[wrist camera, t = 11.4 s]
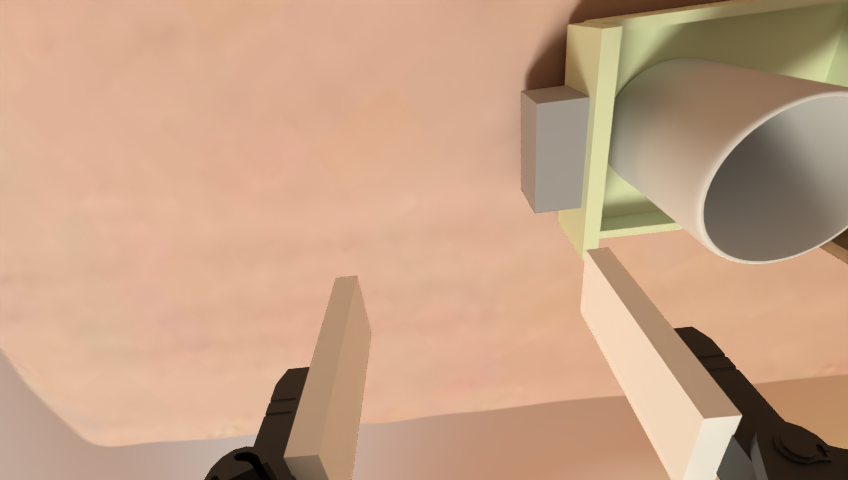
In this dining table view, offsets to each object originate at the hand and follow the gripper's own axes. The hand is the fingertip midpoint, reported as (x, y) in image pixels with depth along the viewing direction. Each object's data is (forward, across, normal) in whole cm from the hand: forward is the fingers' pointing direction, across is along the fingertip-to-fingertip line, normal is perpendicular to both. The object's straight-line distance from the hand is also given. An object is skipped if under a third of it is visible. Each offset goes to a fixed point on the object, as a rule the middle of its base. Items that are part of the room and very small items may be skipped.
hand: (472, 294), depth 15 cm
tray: (+17, +15, 0) cm, 23 cm away
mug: (+16, +17, 0) cm, 23 cm away
